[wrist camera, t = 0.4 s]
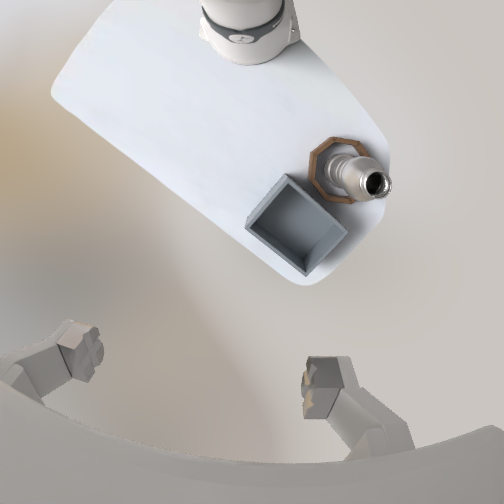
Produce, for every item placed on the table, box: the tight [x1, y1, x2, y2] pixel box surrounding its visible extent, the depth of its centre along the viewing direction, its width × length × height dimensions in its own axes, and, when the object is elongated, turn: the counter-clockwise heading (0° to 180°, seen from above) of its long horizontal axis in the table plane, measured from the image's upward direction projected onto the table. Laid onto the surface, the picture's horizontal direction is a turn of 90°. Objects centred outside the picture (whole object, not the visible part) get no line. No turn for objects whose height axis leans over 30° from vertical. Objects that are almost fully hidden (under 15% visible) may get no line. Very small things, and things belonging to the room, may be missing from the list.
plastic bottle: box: [325, 153, 392, 201], centre depth 40 cm, size 6×7×20 cm
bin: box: [245, 174, 349, 277], centre depth 50 cm, size 14×11×7 cm
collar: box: [308, 137, 371, 204], centre depth 48 cm, size 12×12×3 cm
